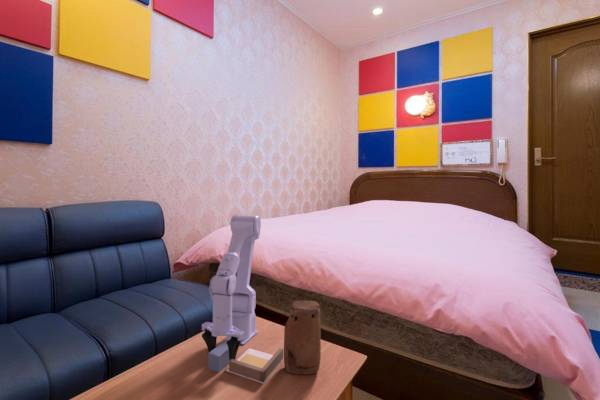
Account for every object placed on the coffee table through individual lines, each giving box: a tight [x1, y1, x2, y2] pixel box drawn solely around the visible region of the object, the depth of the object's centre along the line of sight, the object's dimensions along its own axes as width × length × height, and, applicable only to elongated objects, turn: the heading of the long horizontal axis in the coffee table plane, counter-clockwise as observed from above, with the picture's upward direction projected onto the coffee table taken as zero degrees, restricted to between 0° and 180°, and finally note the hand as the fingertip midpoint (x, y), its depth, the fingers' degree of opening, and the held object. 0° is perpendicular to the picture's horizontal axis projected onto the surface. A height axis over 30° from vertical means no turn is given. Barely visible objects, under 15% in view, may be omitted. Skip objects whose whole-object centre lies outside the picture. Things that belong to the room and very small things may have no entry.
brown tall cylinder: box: [283, 299, 322, 375], centre depth 86 cm, size 11×8×20 cm
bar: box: [208, 339, 229, 373], centre depth 89 cm, size 8×4×5 cm, turn 157°
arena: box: [225, 347, 284, 385], centre depth 88 cm, size 12×13×3 cm
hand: (222, 356), depth 89 cm, fingers open, 7 cm apart
